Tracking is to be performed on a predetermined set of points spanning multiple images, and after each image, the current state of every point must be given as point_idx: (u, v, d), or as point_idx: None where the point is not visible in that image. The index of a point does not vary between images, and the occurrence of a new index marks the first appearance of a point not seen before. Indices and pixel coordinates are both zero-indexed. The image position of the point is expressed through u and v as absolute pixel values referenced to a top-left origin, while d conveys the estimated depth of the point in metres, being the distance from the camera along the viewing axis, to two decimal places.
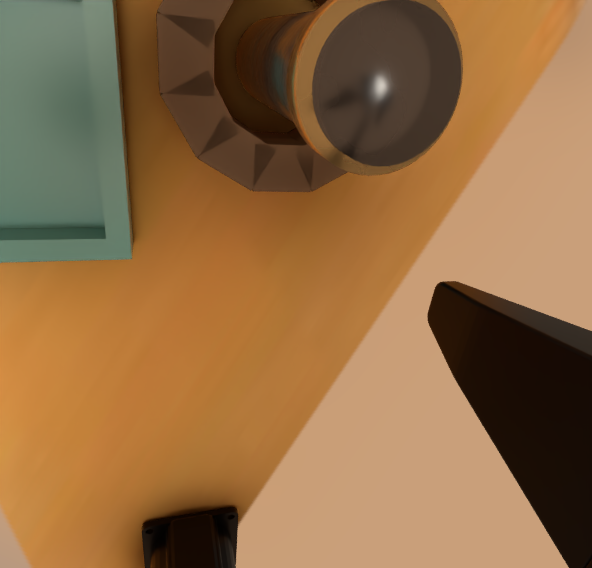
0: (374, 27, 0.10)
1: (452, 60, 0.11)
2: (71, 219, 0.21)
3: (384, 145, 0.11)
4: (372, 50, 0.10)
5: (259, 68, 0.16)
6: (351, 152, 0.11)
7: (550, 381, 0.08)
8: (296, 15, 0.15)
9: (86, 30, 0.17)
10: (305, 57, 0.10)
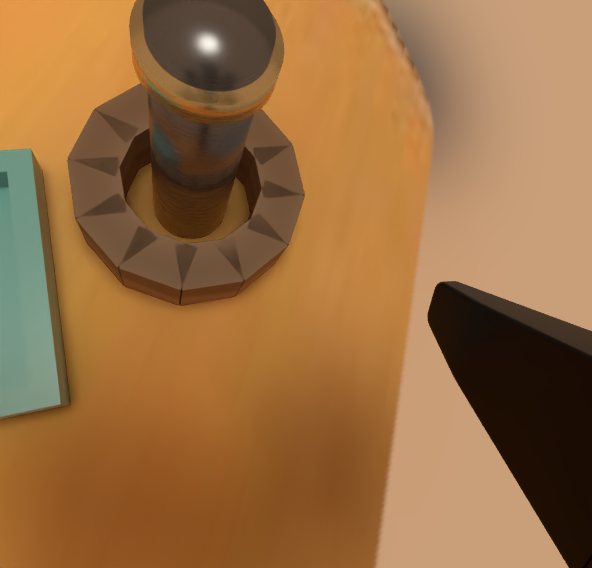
0: None
1: (256, 1, 0.13)
2: None
3: (222, 62, 0.12)
4: None
5: (151, 155, 0.18)
6: (191, 68, 0.12)
7: (550, 381, 0.08)
8: None
9: (10, 192, 0.20)
10: (133, 21, 0.12)
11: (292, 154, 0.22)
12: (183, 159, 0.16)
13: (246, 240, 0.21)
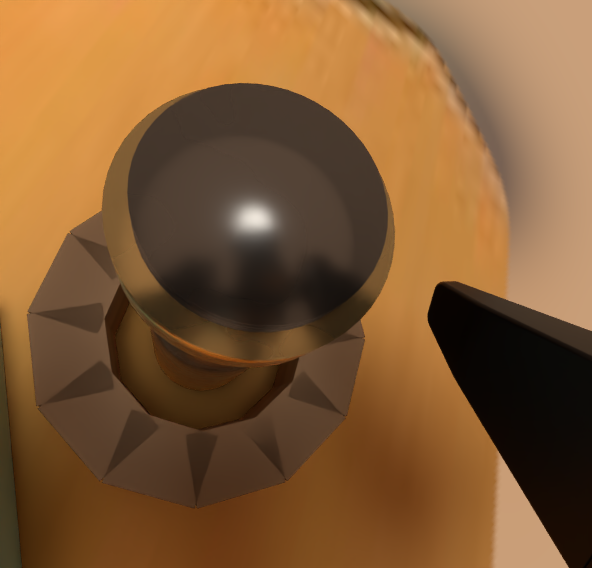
0: (201, 120, 0.06)
1: (347, 142, 0.07)
2: None
3: (291, 283, 0.06)
4: (210, 149, 0.06)
5: None
6: (230, 308, 0.06)
7: (550, 381, 0.08)
8: None
9: None
10: (110, 195, 0.06)
11: None
12: (201, 362, 0.10)
13: (287, 416, 0.14)
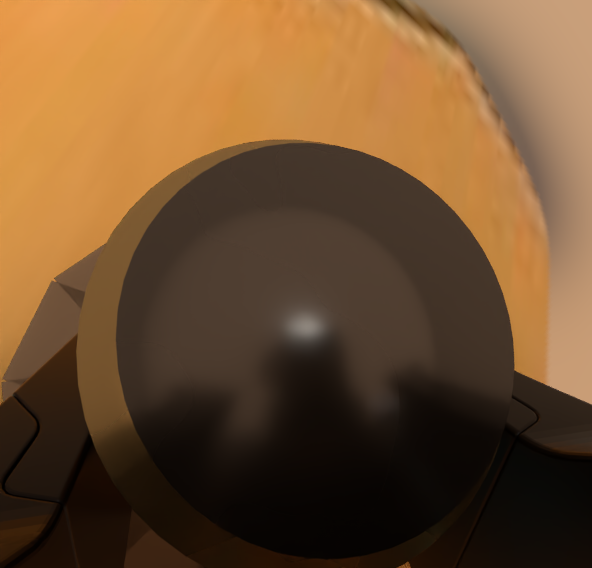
0: (233, 207, 0.04)
1: (448, 230, 0.05)
2: None
3: (380, 478, 0.04)
4: (247, 254, 0.04)
5: None
6: (287, 537, 0.03)
7: None
8: None
9: None
10: (90, 326, 0.04)
11: None
12: None
13: None
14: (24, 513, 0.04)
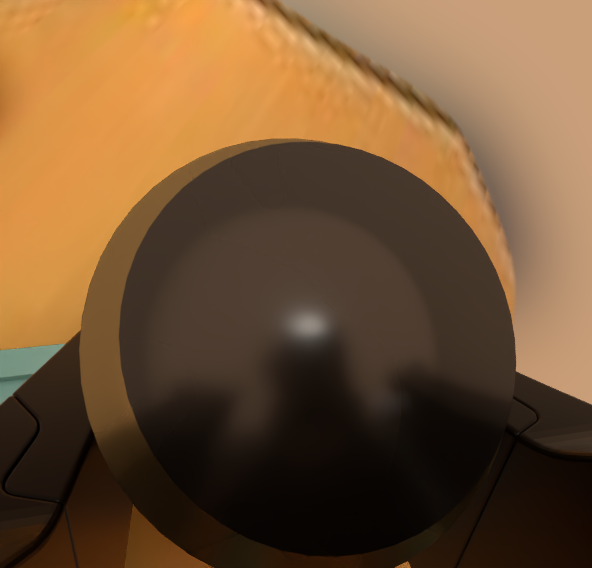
0: (236, 206, 0.04)
1: (450, 229, 0.05)
2: None
3: (382, 475, 0.04)
4: (250, 253, 0.04)
5: None
6: (289, 535, 0.03)
7: None
8: None
9: None
10: (93, 324, 0.04)
11: None
12: None
13: None
14: (25, 512, 0.04)
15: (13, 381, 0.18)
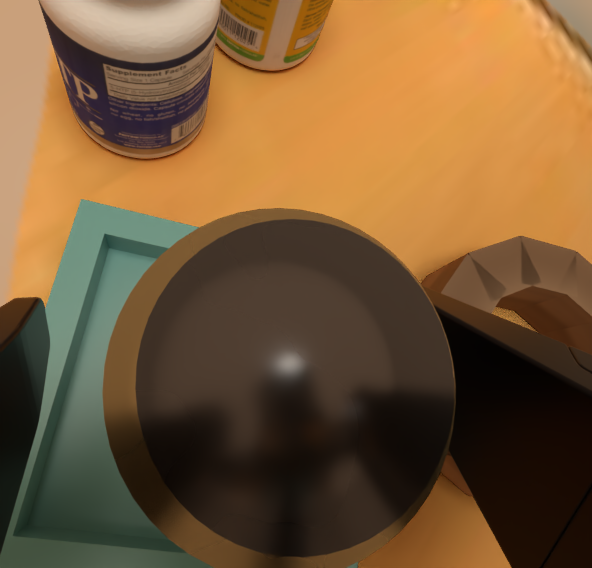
0: (228, 277, 0.05)
1: (404, 289, 0.06)
2: None
3: (341, 494, 0.05)
4: (238, 315, 0.05)
5: None
6: (267, 540, 0.04)
7: (499, 387, 0.07)
8: None
9: None
10: (113, 371, 0.05)
11: None
12: None
13: None
14: None
15: None
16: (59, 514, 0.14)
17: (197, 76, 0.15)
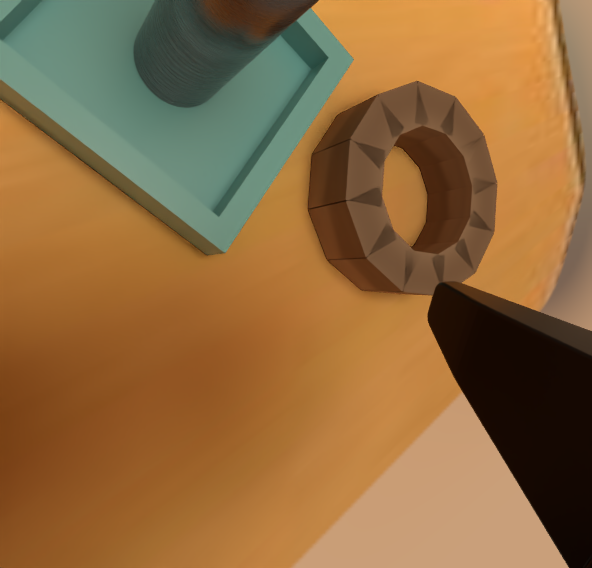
0: None
1: None
2: None
3: None
4: None
5: None
6: None
7: (550, 381, 0.08)
8: None
9: (319, 73, 0.20)
10: None
11: (489, 238, 0.25)
12: None
13: (424, 266, 0.22)
14: None
15: None
16: None
17: None
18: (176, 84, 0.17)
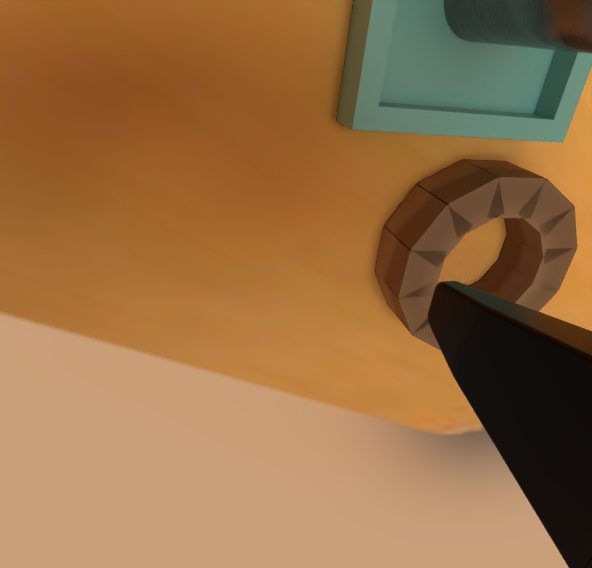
0: None
1: None
2: None
3: None
4: None
5: None
6: None
7: (550, 381, 0.08)
8: None
9: (537, 119, 0.22)
10: None
11: None
12: None
13: (427, 304, 0.24)
14: None
15: (548, 66, 0.22)
16: None
17: None
18: None
